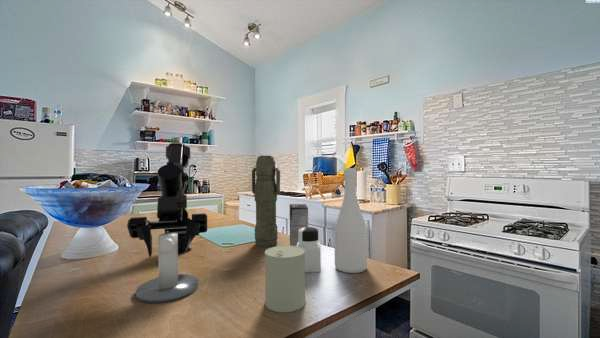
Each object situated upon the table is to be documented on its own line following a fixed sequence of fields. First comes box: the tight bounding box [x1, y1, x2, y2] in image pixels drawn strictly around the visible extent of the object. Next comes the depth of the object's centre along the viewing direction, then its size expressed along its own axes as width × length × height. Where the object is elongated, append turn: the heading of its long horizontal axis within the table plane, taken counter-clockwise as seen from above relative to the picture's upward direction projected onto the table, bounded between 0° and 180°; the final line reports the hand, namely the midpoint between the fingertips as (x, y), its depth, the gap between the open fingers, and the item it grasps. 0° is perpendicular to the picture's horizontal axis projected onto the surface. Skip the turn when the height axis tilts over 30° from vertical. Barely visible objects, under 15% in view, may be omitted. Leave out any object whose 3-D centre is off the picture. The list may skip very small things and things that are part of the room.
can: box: [264, 245, 307, 313], centre depth 63 cm, size 9×9×12 cm
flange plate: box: [135, 273, 199, 304], centre depth 70 cm, size 14×14×1 cm
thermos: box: [251, 155, 281, 249], centre depth 110 cm, size 9×12×35 cm
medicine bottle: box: [296, 226, 322, 273], centre depth 84 cm, size 7×7×12 cm
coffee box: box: [289, 203, 309, 246], centre depth 105 cm, size 9×6×16 cm
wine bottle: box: [333, 167, 368, 274], centre depth 84 cm, size 10×10×30 cm
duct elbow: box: [157, 232, 179, 289], centre depth 69 cm, size 7×4×12 cm, turn 19°
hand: (167, 254), depth 68 cm, fingers open, 7 cm apart
